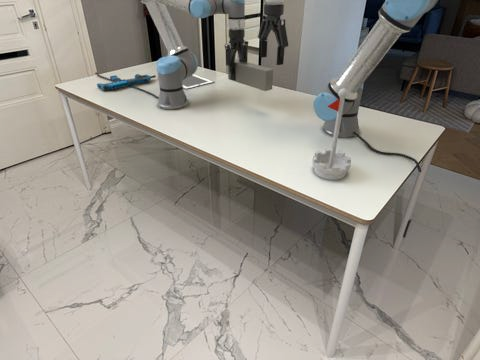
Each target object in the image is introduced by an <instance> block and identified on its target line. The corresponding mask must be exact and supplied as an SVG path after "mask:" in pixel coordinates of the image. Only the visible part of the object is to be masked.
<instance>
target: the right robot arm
mask: <svg viewBox="0 0 480 360" xmlns="http://www.w3.org/2000/svg"><path fill="white" fill-rule="evenodd" d="M438 1H439V0H385V1H384V2H383V4H382V6H381V7H380V8H379V10H378V20H377V21H376V22H375V24H374V25H373V27H372V28H371V30H370V31H369V32H368V34H367V35H366V37H365V38H364V40H363V41H362V43H361V44H360V45H359V46H358V48H357V49H356V51H355V52H354V54H353V55H352V57H351V58H350V59H349V61H348V62H347V64H346V65H345V67H344V68H343V69H342V71H341V72H340V74H339V75H338V76H336V77H334V78H331V80H330V81H329V82H328V84H327V85H326V86H325V88H324V89H323V91H322V92H320V93H319V94H317V96H316V97H315V98H314V100H313V104H312V105H313V106H312V107H313V112H314V113H315V115H316V116H317V118H319V119H320V120H321V121H323V122H324V123H323V126H322V130H323V132H324V133H325V134H326V135H329V136H332V137H333V136H334V130H335V124H336V118H337V112H338V111H336V110H333V109H331V108H329V107H327V106H329V105H330V104H332V103H333V102H335V101H336V100H338V99H339V98H340V97H339V95H338V92H339V90H340V89H342V88H344V89H346V90H347V91H348V95H347V96H346V97H345V99H344V105H343V111H342V117H341V123H340V128H339V134H338V138H339V139H341V138H342V139H349V138H354V137H357V138H358V139H359V140H360V141H362V142H363V143H364V144H365V145H366V146H367V147H368V149H370V150H371V151H373V153H374V152H375V153H376V154H381V155H387V156H399V157H403V158H406V159H408V160H410V161H412V162H414V164H415V166H416V168H417V170H418V173H422V168H421V166H420V164H419V162H418V161H417V159H416V158H415V157H412V156H410V155H407V154H405V153H401V152H390V151H389V152H388V151H381V150H378V149H376V148H374V147H373V146H371V144H370V143H368V142H367V141H366V140H365V138H363V137H362V136H361V135H359V132H360V125H359V118H358V117H359V116H358V114H359V111H360V110H359V109H360V105H361V100H362V95H363V90H364V83H365V81H366V80H367V79H368V77H369V76H370V75H371V74H372V72H373V71H374V70H375V68H376V67H377V66H378V65H379V63H380V62H381V61H382V60H383V58H384V57H385V55H386V54H387V53H388V52H389V51H390V49H391V48H392V47H393V45H394V44H395V43H396V42H397V40H398V39H399V38H400V37H401V36H402V34H405V33H409V32H410V31H411V30H412V29H413V28H414V27H415V25H416V24H418V22H419V20H420V19H421V18H422V17H423V16H424V14H426V13H428V12H429V11H431V10H432V9H433V8H434V7H435V6H436V4H437V3H438ZM284 3H285V0H264V5H263V15H262V17H261V22H260V27H259V31H258V35H257V39H259V41H260V55H259V56H260V58H267V57H268V37H269V35H270V33H271V31H272V33H274V36H275V39H276V42H277V48H276V64H275V65H276V66H281V65H284V61H285V60H284V59H285V49H286V48H287V47H289V41H288V39H289V38H288V35H287V29H286V19H284V18H283V19H281V16H283V15H284V11H285V10H284V9H285V5H284ZM411 221H412V218H411V219H408V220H407V223H406V225H405V227H404V231H403V234H402V238H404V239H405V238H406V236H407V233H408V230H409V227H410V224H411V223H412V222H411Z"/></svg>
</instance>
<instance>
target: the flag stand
mask: <svg viewBox="0 0 480 360" xmlns="http://www.w3.org/2000/svg"><path fill="white" fill-rule="evenodd" d="M338 95H339V97H340V98H339V99H338V100H336V101H335V102H333V103H332V104H330V105H329V106H327V107H329V108H331V109H333V110H336V111H338V112H337V118H336V124H335V130H334V136H332V143H331V148H330V149H329V148H328V149H324V152H321V151H320V150H317V151H315V152H314V154H313V155H314V156H312V166H313V168H314V169H313V170H314V173H315V174H316V175H317V176H318V177H320V178H322V179H325V180H330V181H333V180H340V179H343V178H345V176H346V173H347V172H348V171H350V169H351V166H352V158H351V157H350V156H346V153H345V152H343V151H339V150H338V151H337V145H338V138H339V137H338V134H339V128H340V123H341V117H342V111H343V105H344V99H345V97H346V96H347V95H348V91H347V90H346V89H344V88H342V89H340V90H339V92H338ZM336 151H337V152H336Z"/></svg>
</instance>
